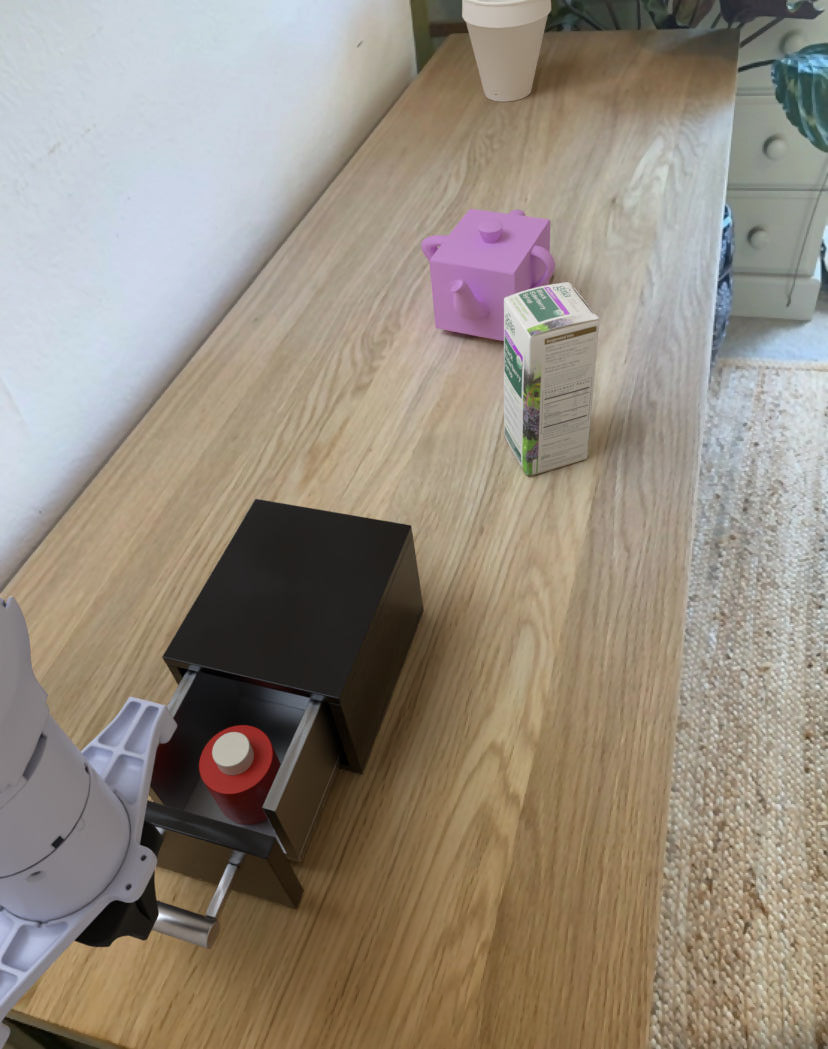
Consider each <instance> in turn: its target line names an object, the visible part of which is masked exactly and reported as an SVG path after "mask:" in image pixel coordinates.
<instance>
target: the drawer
mask: <svg viewBox="0 0 828 1049" xmlns="http://www.w3.org/2000/svg"><path fill="white" fill-rule="evenodd" d="M166 707H167V709H168V710H169V712H170V714H171V715H172V717H173V719H174V720H175V722H176V724H177V728H176V730H175V732H174V733H173V735H172V737H171V739H170V740H169V741H168V742H167V743H159V742H158V745H157V750H156V755H155V761H154V766H153V772H152V778H151V783H150V789H149V795H148V797H149V798H150V800H149V799H148V800H147V806H146V812H145V817H144V820H145V821H148V822H150V823H152V824H153V825H154V826H155V827H156V828H157V830H158V831H159V832H160V834H161V836H162V838H163V839H164V840H163V843H162V845H161V848H160V850H159V853H158V857H157V865H156V867H158V868H162V869H165V870H168V871H171V872H174V873H176V874H177V873H178V874H181V875H183V876H187V877H190V878H194V879H195V880H196V879H197V880H200V881H203V882H207V883H210V884H212V885H215V886H217V887H216V889H215V892H214V894H213V896H212V898H211V900H210V902H209V905H208V907H207V909H206V912H205V914H204V915H203V914H200V913H197V912H194V911H190V910H188V909H185V908H182V907H178V906H175V905H174V904H173V905H172V904H170V903H167V902H163V901H160V900H157V905H158V911H159V916H158V918H157V920H156V922H155V924H154V926H153V928H152V930H151V931H152V932H155V933H159V934H161V935H164V936H167V937H171V938H174V939H177V940H180V941H183V942H185V943H188V944H192V945H194V946H198V947H200V948H203V949H206V950H210V949H212V947H213V946H215V944H216V942H217V940H218V936H219V934H220V930H221V923H220V920H219V919H220V917H221V915H222V912H223V910H224V908H225V905H226V904H227V901H228V899H229V897H230V894H231V892H232V891H235V892H239V893H242V894H245V895H247V896H251V897H255V898H258V899H260V900H264V901H267V902H269V903H274V904H277V905H280V906H283V907H285V908H290V909H293V910H297V909H298V908H299V905H300V902H301V900H302V897H303V895H304V892H305V889H304V887H303V885H302V883H301V881H300V879H299V877H298V876H297V873H296V871H294V869H293V866H292V865H291V862H290V861H289V860H291V861H294V862H298V863H302V862H303V860H304V857H305V854H306V851H307V849H308V847H309V845H310V842H311V839H312V836H313V834H314V831H315V829H316V827H317V824H318V821H319V819H320V816H321V814H322V812H323V808H324V806H325V804H326V801H327V799H328V796H329V793H330V791H331V788H332V785H333V783H334V781H335V778H336V777H337V776H336V775H337V774H338V771H339V769H338V768H339V766H340V763H341V761H342V758H343V755H344V753H345V751H344V748H343V745H342V742H341V738H340V735H339V732H338V729H337V726H336V723H335V720H334V717H333V714H332V711H331V708H330V705H329V703H328V702H324V701H320V700H315V699H311V698H307V697H303V696H299V695H294V694H290V693H286V692H282V691H278V690H273V689H269V688H265V687H261V686H256V685H252V684H248V683H244V682H240V681H235V680H231V679H227V678H223V677H219V676H214V675H210V674H206V673H202V672H198V671H193V670H189V669H187V671H186V673H185V675H184V676H183V678H182V680H181V682H180V684H179V685H178V684H177V687H176V689H175V691H174V693H173V694H172V696H171V698H170V699H169V701H168V703H167V705H166ZM238 725H248V726H253V727H256V728H258V729H260V730H261V731H263V732H264V733H265V734H266V735H267V736H268V738H269V739H270V741H271V743H272V746H273V748H274V750H275V752H276V754H277V757H278V759H279V761H280V763H281V766H280V768H279V771H278V773H277V775H276V777H275V780H274V782H273V784H272V786H271V789H270V791H269V793H268V795H267V798H266V800H265V802H264V804H263V807H262V809H263V810H264V812H265V814H266V816H267V819H266V820H264V821H261V822H259V823H255V824H239V823H236V822H233V821H232V820H230V819H228V818H227V817H226V816H225V815H224V814H223V812H222V811H221V809H220V807H219V806H218V804H217V803H216V801H215V799H214V798H213V796H212V795H211V793H210V791H209V790H208V788H207V787H206V785H205V783H204V782H203V780H202V778H201V775H200V771H199V762H200V757H201V754H202V751H203V749H204V748H205V746H206V745H207V743H208V742H209V741H210V740H211V739H212V738H213V737H214V736H215V735H216V734H218V733H219V732H221V731H223V730H224V729H227V728H229V727H233V726H238Z"/></svg>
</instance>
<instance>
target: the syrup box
mask: <svg viewBox="0 0 828 1049" xmlns="http://www.w3.org/2000/svg"><path fill="white" fill-rule="evenodd" d="M599 330H600V317H599V316H598V315H597V314H596V313H594V311H593V310H592V308H591V306H589V304H588V303H587V301H586V300H585V298H584V297H583V296H582V295H581V294H580V293H579V292H578V290H577V289H576V288H575V286H574V285H573V284H572V283H571V282H569V281H564V282H559V283H552V284H549V285H545V286H541V287H536V288H532V289H529V290H525V291H522V292H519V293H516V294H513V295H510V296H508V297H505V298H504V341H503V423H504V424H503V425H504V426H503V428H504V429H503V430H504V435H503V436H504V439H505V441H506V442H507V444H508V445H509V448H510V450H511V452H512V454H513V455H514V457H515V459H516V461H517V462H518V464H519V466H520V467H521V469H522V470H523V472H524V474H525V476H526V477H531V476H535V475H539V474H542V473H545V472H548V471H552V470H555V469H559V468H562V467H566V466H569V465H571V464H575V463H578V462H581V461H584V460H587V459H588V452H589V442H590V441H589V440H590V432H591V419H592V407H593V397H594V385H595V376H596V375H595V374H596V364H597V353H598V352H597V351H598V343H599V342H598V341H599Z"/></svg>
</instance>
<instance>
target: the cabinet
mask: <svg viewBox="0 0 828 1049" xmlns="http://www.w3.org/2000/svg"><path fill="white" fill-rule="evenodd" d="M424 612H425V610H424V600H423V595H422V588H421V582H420V574H419V569H418V561H417V553H416V548H415V541H414V533H413V528H412V525H411V524H405V523H401V522H394V521H388V520H383V519H377V518H371V517H366V516H360V515H353V514H347V513H341V512H335V511H331V510H326V509H325V510H324V509H319V508H313V507H306V506H301V505H295V504H289V503H285V502H284V503H283V502H277V501H272V500H267V499H260V498H255V499H254V500H253V502H252V504H251V505H250V506H249V508H248V510H247V512H246V513H245V516H244V517H243V519H242V521H241V522H240V523H239V526H238V528H237V529H236V531H235V532H234V534H233V536H232V537H231V539H230V541H229V542H228V544H227V546H226V547H225V549H224V551H223V552H222V555H221V556H220V558H219V559H218V561H217V563H216V565H215V566H214V567H213V570H212V572H211V573H210V574H209V577H208V578H207V579H206V582H205V584H204V585H203V587H202V588H201V590H200V592H199V594H198V595H197V596H196V599H195V600H194V602H193V604H192V605H191V607H190V609H189V611H187V614H186V616H185V617H184V619H183V621H182V622H181V624H180V626H179V628H178V630H177V631H176V633H175V634H174V636H173V637H172V640H171V641H170V643H169V644H168V646H167V648H166V650H165V651H164V653H163V655H162V657H161V658H162V660H163V661H164V663H165V665H166V667H167V668H168V670H169V672H170V673H171V675H172V677H173V679H174V680H175V682H176V684H177V686H178V685H179V684H180V682H181V680H182V678H183V676H184V675H185V673H186V671H187V669H189V670H193V671H198V672H202V673H206V674H210V675H214V676H219V677H223V678H227V679H231V680H235V681H240V682H244V683H248V684H252V685H256V686H261V687H265V688H269V689H273V690H278V691H282V692H286V693H290V694H294V695H299V696H303V697H307V698H311V699H315V700H320V701H324V702H328V703H329V705H330V708H331V711H332V714H333V717H334V720H335V723H336V726H337V729H338V732H339V735H340V738H341V742H342V745H343V748H344V751H345V753H344V755H343V758H342V761H341V763H340V766H339V768H338V770H343V771H345V772H346V771H347V772H350V773H355V774H357V775H362V776H363V775H364V773H365V770H366V768H367V764H368V762H369V759H370V757H371V753H372V751H373V748H374V746H375V743H376V740H377V737H378V735H379V733H380V730H381V727H382V724H383V721H384V718H385V716H386V713H387V711H388V709H389V706H390V702H391V700H392V698H393V695H394V692H395V689H396V687H397V684H398V682H399V679H400V676H401V674H402V671H403V667H404V666H405V662H406V660H407V657H408V654H409V652H410V649H411V647H412V644H413V642H414V639H415V635H416V633H417V630H418V628H419V626H420V622H421V620H422V617H423V614H424Z"/></svg>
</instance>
